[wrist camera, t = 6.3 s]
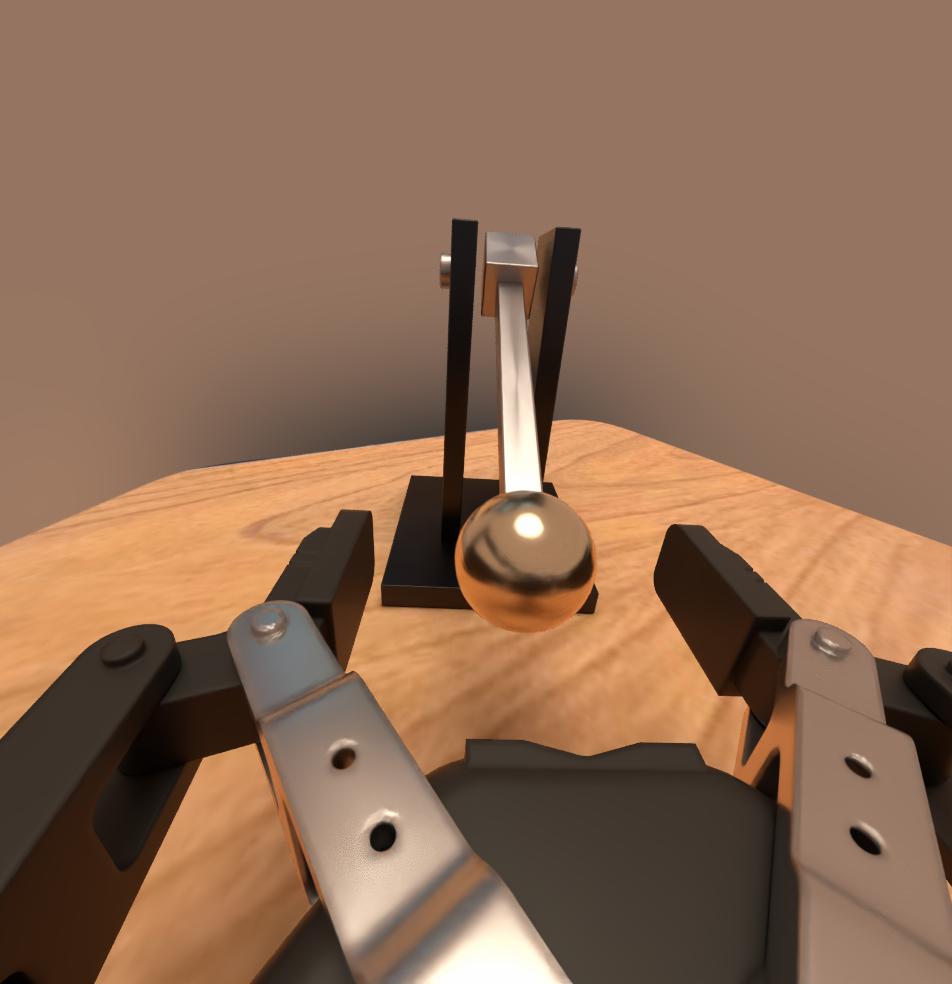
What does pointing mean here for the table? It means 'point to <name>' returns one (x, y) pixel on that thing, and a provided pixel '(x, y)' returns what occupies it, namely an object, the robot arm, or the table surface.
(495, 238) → the lever
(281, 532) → the table surface
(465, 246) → the bracket
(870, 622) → the table surface
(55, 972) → the robot arm
